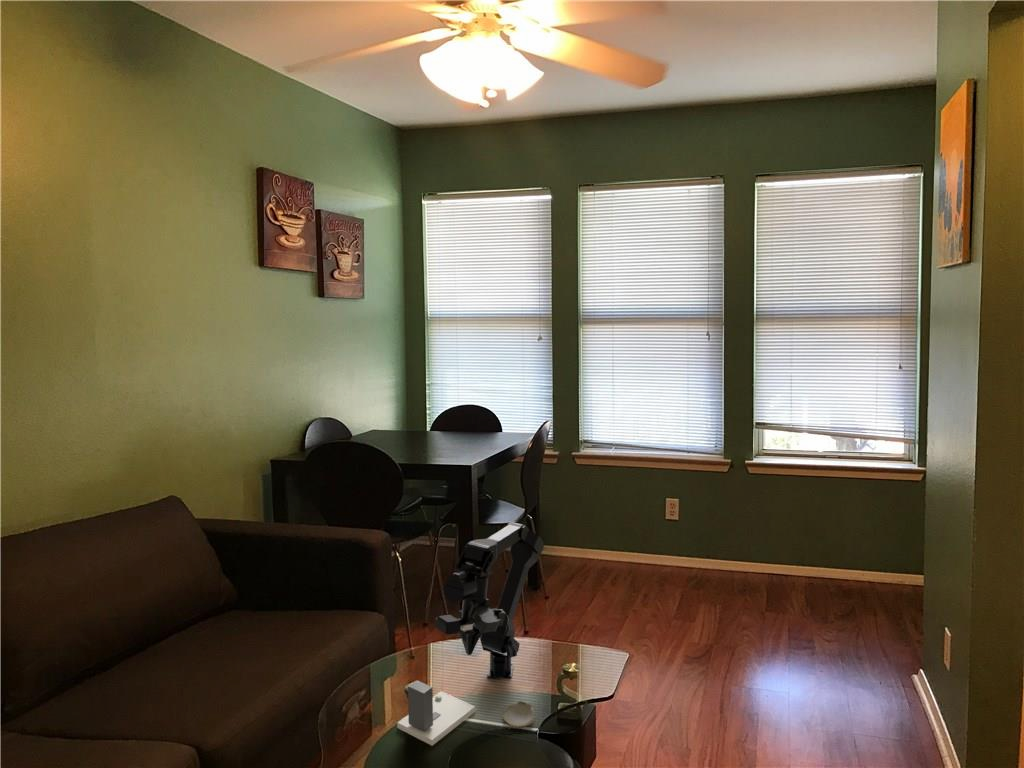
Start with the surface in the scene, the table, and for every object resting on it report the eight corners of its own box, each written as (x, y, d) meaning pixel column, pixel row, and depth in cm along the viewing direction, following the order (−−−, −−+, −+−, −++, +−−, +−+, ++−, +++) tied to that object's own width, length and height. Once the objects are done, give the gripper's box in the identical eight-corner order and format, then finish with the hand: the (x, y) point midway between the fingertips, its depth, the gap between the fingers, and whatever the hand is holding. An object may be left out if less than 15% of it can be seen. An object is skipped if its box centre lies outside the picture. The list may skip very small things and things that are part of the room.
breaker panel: (441, 696, 207) (441, 689, 207) (475, 711, 201) (475, 704, 200) (397, 728, 194) (397, 720, 194) (432, 745, 188) (432, 738, 188)
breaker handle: (417, 717, 195) (416, 680, 193) (432, 725, 192) (432, 687, 190) (408, 723, 193) (407, 686, 191) (424, 731, 190) (423, 693, 188)
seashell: (499, 728, 198) (525, 734, 193) (495, 718, 197) (521, 723, 192) (518, 707, 204) (543, 712, 199) (515, 697, 203) (540, 701, 198)
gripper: (461, 607, 190) (454, 672, 191) (524, 599, 201) (517, 661, 202) (436, 593, 199) (430, 655, 199) (498, 585, 210) (492, 644, 211)
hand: (468, 654), depth 203 cm, fingers closed
